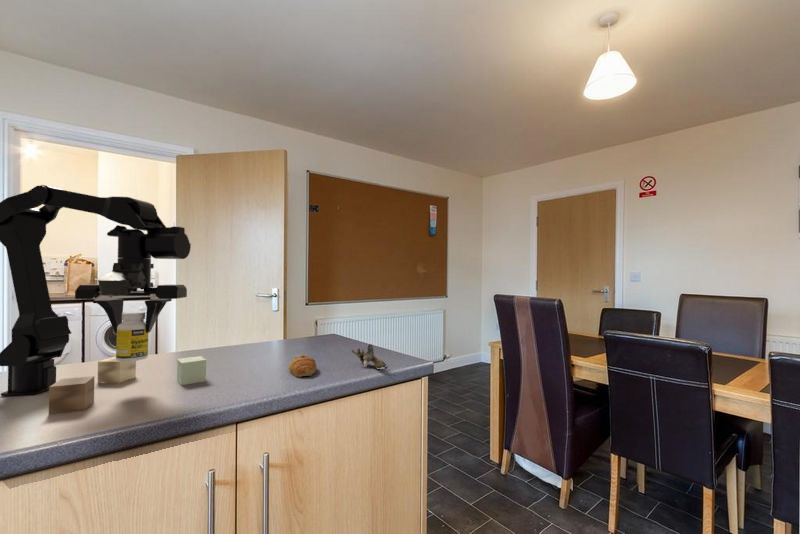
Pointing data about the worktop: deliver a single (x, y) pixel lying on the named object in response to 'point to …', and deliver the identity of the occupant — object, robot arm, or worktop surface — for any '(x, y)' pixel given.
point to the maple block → (115, 370)
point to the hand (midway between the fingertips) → (133, 332)
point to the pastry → (302, 366)
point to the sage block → (191, 370)
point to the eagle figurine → (369, 357)
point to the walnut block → (71, 395)
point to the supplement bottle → (132, 337)
